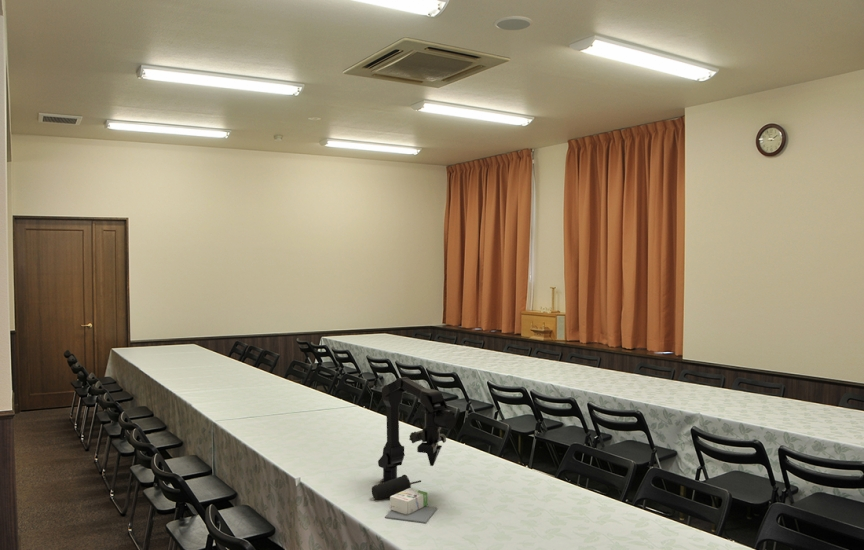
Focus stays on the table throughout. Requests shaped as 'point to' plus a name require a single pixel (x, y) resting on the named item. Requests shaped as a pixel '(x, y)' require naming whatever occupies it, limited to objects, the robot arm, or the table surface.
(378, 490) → the drinking cup
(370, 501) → the table surface
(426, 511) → the felt mat
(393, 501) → the ink box
